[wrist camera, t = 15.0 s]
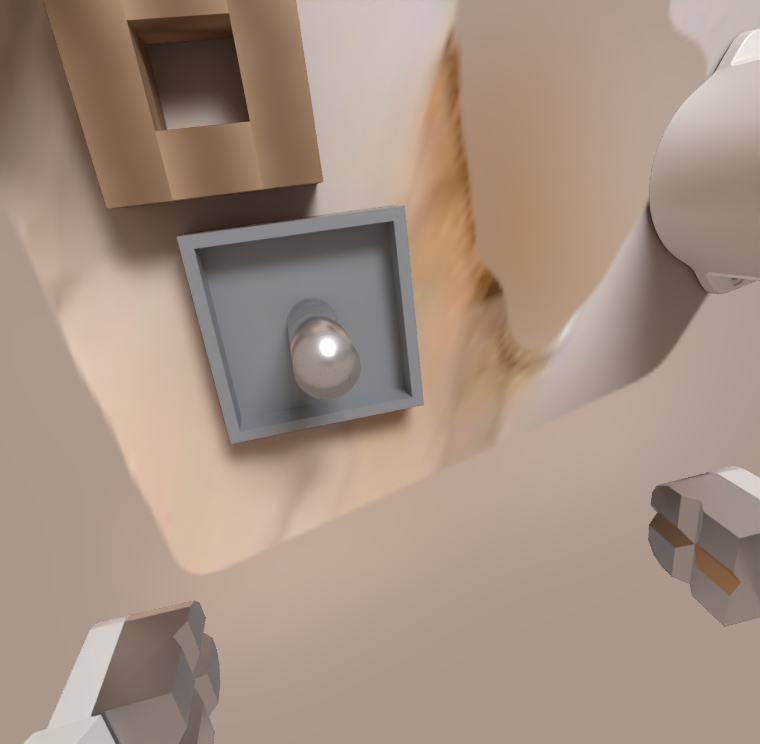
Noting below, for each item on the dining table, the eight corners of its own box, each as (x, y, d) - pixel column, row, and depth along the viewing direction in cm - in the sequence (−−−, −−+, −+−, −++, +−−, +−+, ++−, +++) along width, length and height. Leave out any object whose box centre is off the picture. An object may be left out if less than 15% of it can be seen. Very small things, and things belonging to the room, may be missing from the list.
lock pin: (332, 294, 34) (355, 329, 25) (340, 342, 35) (365, 392, 26) (282, 302, 33) (287, 341, 24) (292, 350, 35) (299, 405, 25)
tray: (393, 205, 34) (404, 206, 31) (412, 390, 38) (423, 405, 36) (184, 233, 31) (176, 237, 29) (233, 425, 36) (230, 444, 34)
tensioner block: (282, -39, 28) (284, -76, 24) (317, 183, 32) (323, 181, 28) (58, -27, 26) (23, -65, 22) (126, 207, 30) (106, 208, 27)
